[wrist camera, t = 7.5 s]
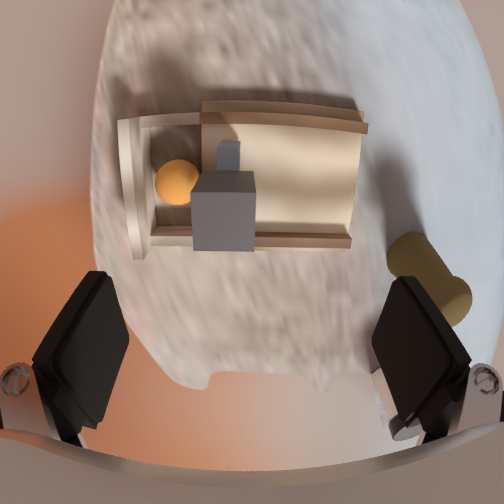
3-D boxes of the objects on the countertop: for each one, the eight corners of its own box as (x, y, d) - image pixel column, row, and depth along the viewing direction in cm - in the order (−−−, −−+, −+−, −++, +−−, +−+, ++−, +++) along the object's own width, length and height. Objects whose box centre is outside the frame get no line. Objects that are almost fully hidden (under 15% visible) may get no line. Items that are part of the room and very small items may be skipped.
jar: (388, 389, 44) (407, 443, 34) (361, 381, 42) (380, 442, 31) (424, 359, 41) (451, 412, 30) (401, 347, 38) (430, 409, 28)
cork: (405, 223, 29) (461, 278, 19) (437, 243, 30) (489, 296, 20) (377, 267, 31) (419, 332, 22) (410, 282, 32) (452, 342, 23)
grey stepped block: (209, 140, 23) (188, 162, 15) (252, 141, 23) (257, 162, 15) (210, 217, 26) (195, 274, 18) (250, 218, 26) (253, 275, 18)
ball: (190, 164, 21) (206, 155, 25) (145, 164, 22) (165, 155, 25) (192, 213, 23) (207, 197, 27) (149, 210, 24) (167, 196, 27)
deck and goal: (138, 105, 22) (116, 107, 18) (359, 111, 23) (382, 114, 19) (149, 243, 29) (135, 268, 25) (341, 246, 30) (356, 271, 25)
